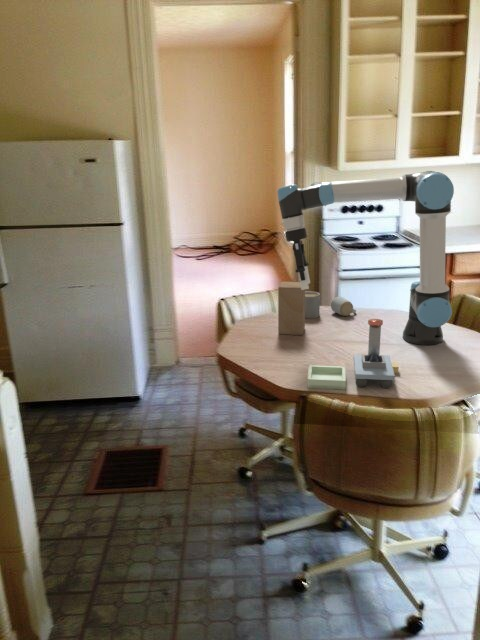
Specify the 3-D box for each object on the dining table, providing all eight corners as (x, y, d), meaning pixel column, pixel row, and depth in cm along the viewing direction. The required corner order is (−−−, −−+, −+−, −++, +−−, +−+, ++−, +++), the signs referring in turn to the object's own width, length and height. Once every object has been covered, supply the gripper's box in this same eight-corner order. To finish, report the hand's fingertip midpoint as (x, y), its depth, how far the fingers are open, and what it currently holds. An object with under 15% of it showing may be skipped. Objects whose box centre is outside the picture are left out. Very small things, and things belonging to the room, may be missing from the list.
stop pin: (379, 362, 188) (382, 318, 184) (380, 367, 184) (383, 323, 179) (365, 361, 189) (367, 318, 184) (366, 366, 184) (368, 322, 180)
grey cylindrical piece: (310, 319, 251) (310, 297, 248) (292, 315, 258) (293, 294, 255) (328, 313, 260) (329, 292, 257) (311, 309, 267) (311, 288, 264)
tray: (344, 374, 191) (345, 366, 190) (345, 389, 180) (345, 380, 179) (308, 373, 193) (309, 365, 192) (307, 387, 182) (307, 379, 181)
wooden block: (302, 335, 231) (303, 287, 225) (278, 334, 233) (278, 287, 227) (304, 327, 240) (305, 282, 234) (281, 326, 242) (281, 281, 236)
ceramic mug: (340, 317, 253) (341, 301, 251) (330, 313, 260) (331, 297, 258) (359, 315, 257) (361, 298, 255) (349, 310, 264) (350, 294, 262)
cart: (396, 369, 195) (398, 350, 193) (402, 390, 178) (404, 370, 176) (353, 367, 197) (353, 348, 195) (355, 388, 180) (355, 368, 178)
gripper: (287, 229, 217) (298, 283, 220) (281, 233, 192) (293, 293, 196) (306, 225, 215) (317, 279, 219) (303, 228, 191) (315, 289, 195)
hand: (306, 286), depth 207 cm, fingers open, 13 cm apart
